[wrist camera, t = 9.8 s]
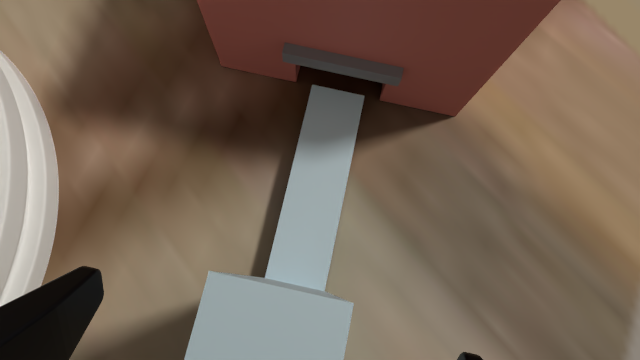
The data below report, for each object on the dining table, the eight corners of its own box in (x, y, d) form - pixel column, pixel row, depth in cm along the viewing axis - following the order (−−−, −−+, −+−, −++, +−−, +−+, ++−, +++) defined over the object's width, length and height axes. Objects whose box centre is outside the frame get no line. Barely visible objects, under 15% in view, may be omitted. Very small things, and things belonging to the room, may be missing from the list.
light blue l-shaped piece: (313, 342, 19) (328, 441, 7) (253, 329, 19) (170, 405, 7) (362, 102, 23) (429, -103, 11) (311, 91, 23) (320, -125, 11)
